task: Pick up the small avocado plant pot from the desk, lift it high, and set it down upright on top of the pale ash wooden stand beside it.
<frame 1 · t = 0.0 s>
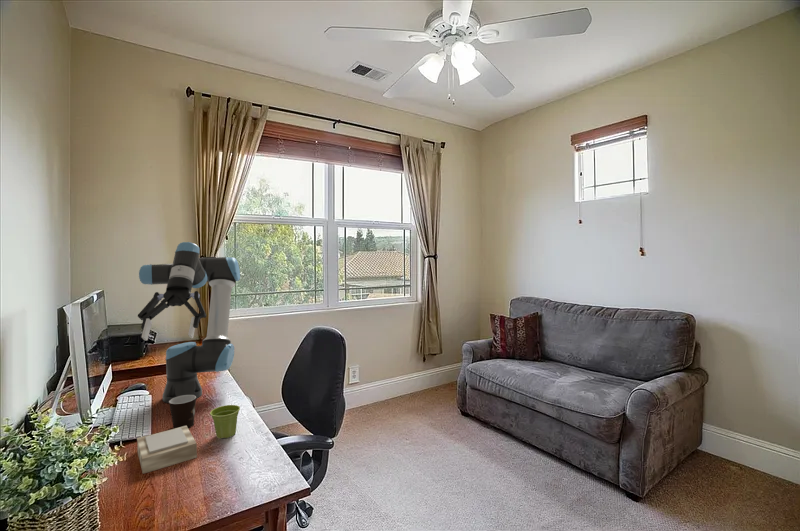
hand: (167, 337, 124), 36 cm above the table, tool tilted 35°, fingers open, 13 cm apart
wooden stand: (166, 454, 122), on the table
coffee mug: (186, 425, 143), on the table
plant pot: (226, 435, 134), on the table
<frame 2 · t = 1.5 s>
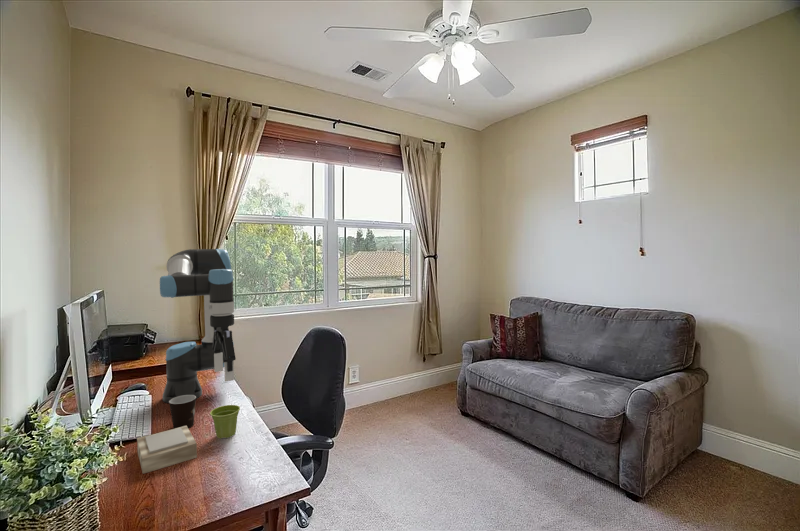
hand: (223, 375, 133), 21 cm above the table, tool pointing down, fingers open, 13 cm apart
nothing on the table moved.
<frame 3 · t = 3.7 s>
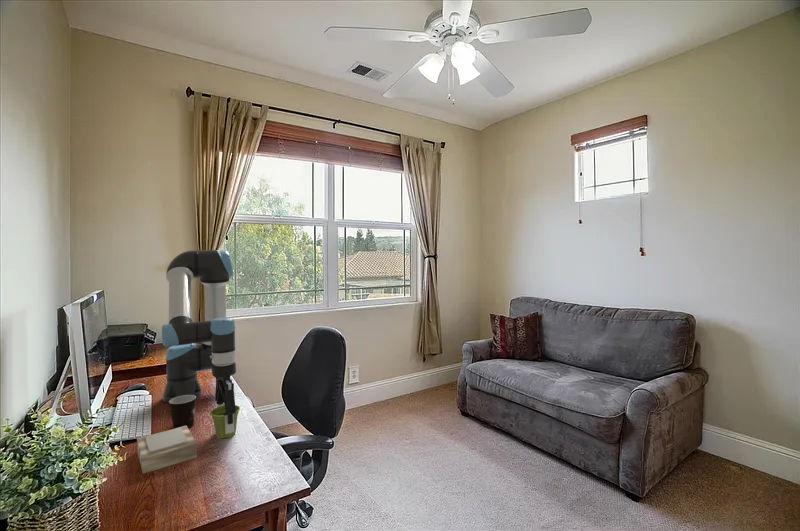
hand: (225, 427, 134), 3 cm above the table, tool pointing down, fingers closed on plant pot, 9 cm apart
plant pot: (226, 435, 134), on the table, touching gripper
everything else where it was.
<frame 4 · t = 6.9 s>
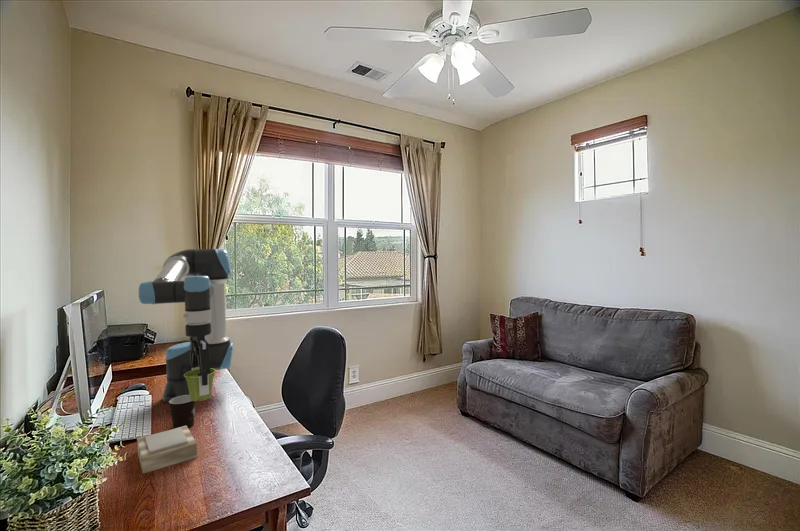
hand: (200, 390, 128), 18 cm above the table, tool pointing down, fingers closed on plant pot, 9 cm apart
plant pot: (200, 398, 128), point 15 cm above the table, touching gripper
everything else where it was.
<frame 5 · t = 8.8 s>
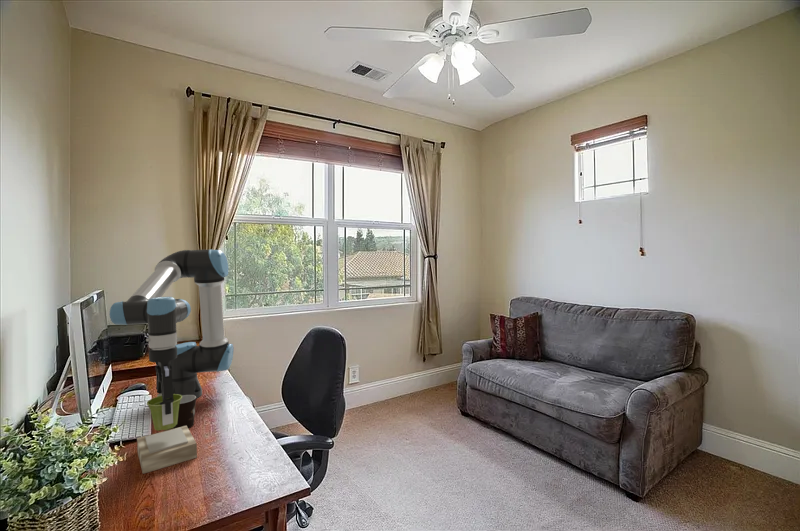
hand: (165, 418, 121), 11 cm above the table, tool pointing down, fingers closed on plant pot, 9 cm apart
plant pot: (165, 427, 121), point 9 cm above the table, touching gripper
everything else where it was.
when the fingers open (9 cm above the table, at t = 10.2 s): plant pot drops 1 cm, resting on wooden stand.
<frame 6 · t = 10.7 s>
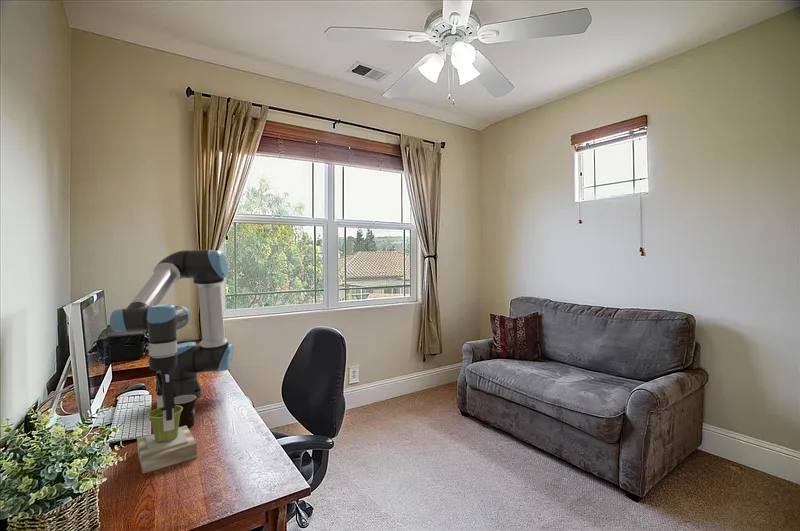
hand: (165, 422, 121), 10 cm above the table, tool pointing down, fingers open, 13 cm apart
plant pot: (166, 438, 122), point 5 cm above the table, touching wooden stand
everything else where it was.
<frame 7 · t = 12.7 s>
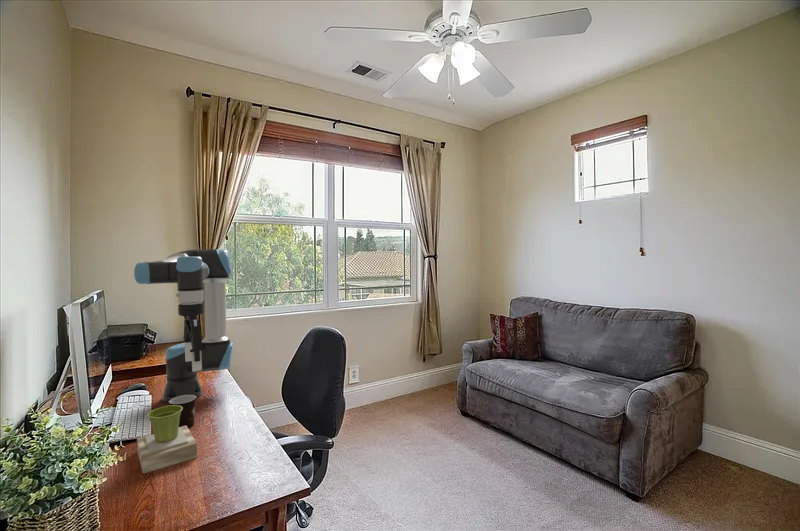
hand: (193, 365, 130), 25 cm above the table, tool pointing down, fingers open, 13 cm apart
nothing on the table moved.
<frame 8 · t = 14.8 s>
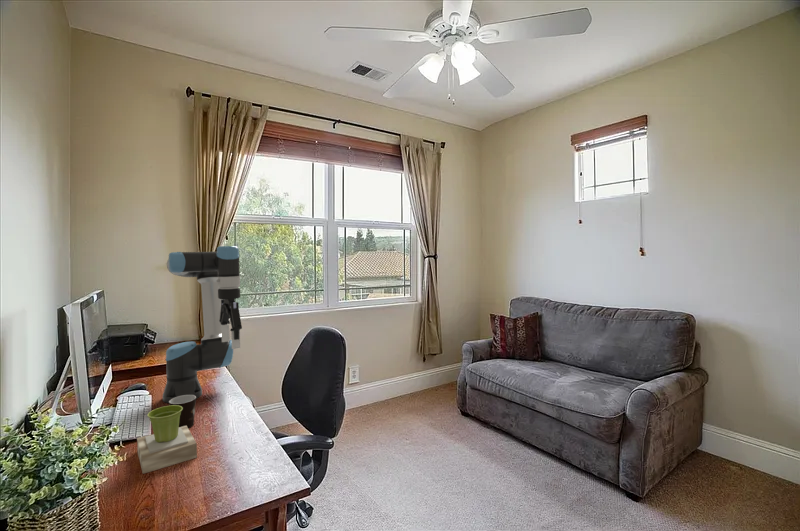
hand: (230, 344, 144), 29 cm above the table, tool pointing down, fingers open, 13 cm apart
nothing on the table moved.
at the end: plant pot inside the target area on the wooden stand (0.4 cm from its centre), point 4.8 cm above the wooden stand's base; plant pot tilted 0°; the gripper is holding nothing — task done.
